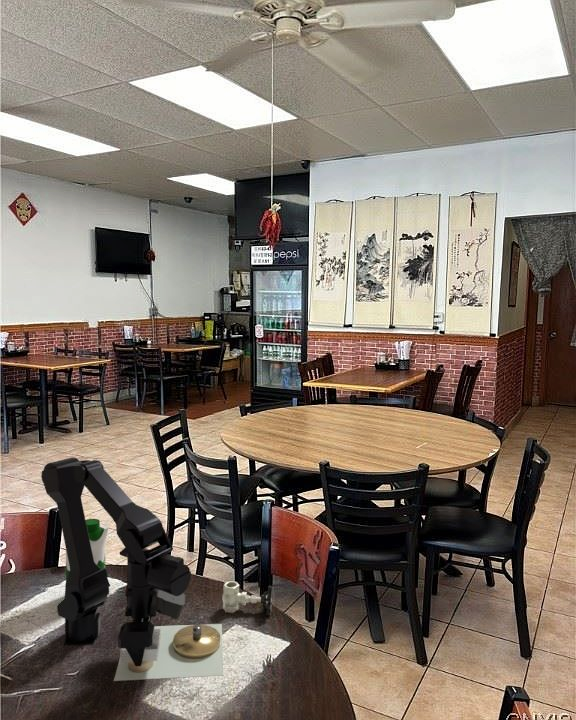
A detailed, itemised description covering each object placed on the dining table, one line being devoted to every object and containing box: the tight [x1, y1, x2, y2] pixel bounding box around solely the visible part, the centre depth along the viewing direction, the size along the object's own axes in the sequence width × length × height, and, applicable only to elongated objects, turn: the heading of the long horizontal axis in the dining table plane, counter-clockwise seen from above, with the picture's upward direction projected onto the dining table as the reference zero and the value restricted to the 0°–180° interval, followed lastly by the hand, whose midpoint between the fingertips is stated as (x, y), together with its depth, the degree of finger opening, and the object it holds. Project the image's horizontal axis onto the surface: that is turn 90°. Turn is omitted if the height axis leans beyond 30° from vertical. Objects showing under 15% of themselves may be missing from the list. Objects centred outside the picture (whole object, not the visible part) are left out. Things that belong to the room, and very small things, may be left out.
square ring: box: [119, 629, 161, 662], centre depth 112 cm, size 7×7×2 cm
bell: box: [173, 624, 220, 659], centre depth 119 cm, size 10×10×4 cm
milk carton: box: [64, 518, 109, 598], centre depth 136 cm, size 9×9×20 cm
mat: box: [113, 623, 224, 682], centre depth 117 cm, size 21×18×1 cm
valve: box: [221, 580, 274, 616], centre depth 134 cm, size 7×7×12 cm
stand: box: [128, 661, 154, 673], centre depth 112 cm, size 5×5×7 cm
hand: (140, 654), depth 112 cm, fingers closed on square ring, 7 cm apart
